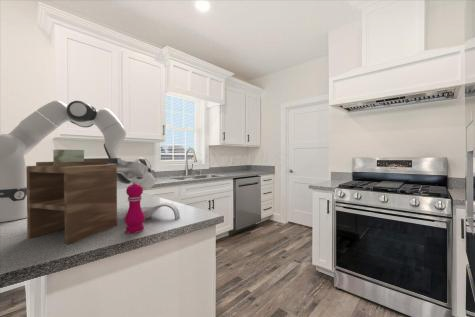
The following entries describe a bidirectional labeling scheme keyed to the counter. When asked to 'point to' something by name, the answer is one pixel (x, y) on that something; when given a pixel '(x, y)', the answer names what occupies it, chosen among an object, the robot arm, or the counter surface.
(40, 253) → the counter surface
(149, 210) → the spoon rest
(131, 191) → the pepper mill
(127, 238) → the counter surface
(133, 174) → the robot arm
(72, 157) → the block
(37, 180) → the walnut shelf
